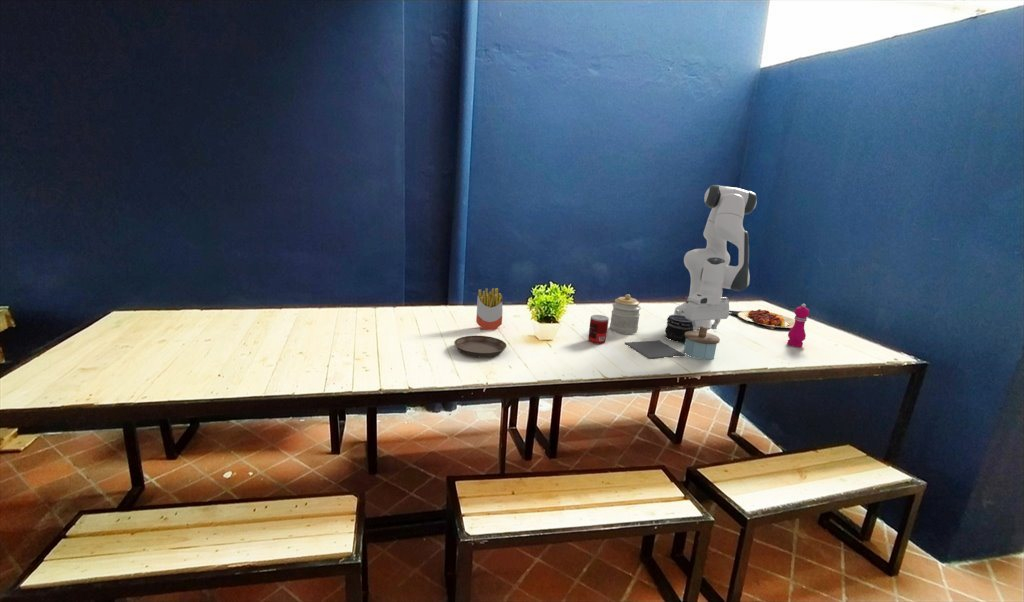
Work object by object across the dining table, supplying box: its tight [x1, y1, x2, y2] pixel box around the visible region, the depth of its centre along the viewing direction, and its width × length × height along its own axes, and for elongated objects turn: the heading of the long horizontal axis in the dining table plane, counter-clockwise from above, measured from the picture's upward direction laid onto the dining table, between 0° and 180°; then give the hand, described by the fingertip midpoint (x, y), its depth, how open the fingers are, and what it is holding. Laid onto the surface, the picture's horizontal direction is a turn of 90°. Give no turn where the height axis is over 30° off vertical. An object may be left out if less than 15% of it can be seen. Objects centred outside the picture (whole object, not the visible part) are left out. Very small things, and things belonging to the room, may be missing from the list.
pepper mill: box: [787, 303, 811, 348], centre depth 239 cm, size 7×7×20 cm
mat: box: [624, 339, 686, 360], centre depth 221 cm, size 18×18×1 cm
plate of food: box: [729, 308, 795, 331], centre depth 277 cm, size 31×35×7 cm
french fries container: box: [475, 287, 503, 331], centre depth 231 cm, size 5×11×18 cm, turn 106°
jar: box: [609, 293, 642, 335], centre depth 243 cm, size 13×13×18 cm
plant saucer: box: [453, 334, 508, 359], centre depth 206 cm, size 21×21×3 cm
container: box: [664, 314, 694, 343], centre depth 237 cm, size 13×13×10 cm
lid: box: [684, 326, 721, 344], centre depth 218 cm, size 14×14×5 cm
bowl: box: [683, 338, 718, 360], centre depth 219 cm, size 12×12×7 cm
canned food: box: [587, 314, 610, 345], centre depth 225 cm, size 8×8×11 cm
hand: (704, 329), depth 217 cm, fingers open, 8 cm apart
